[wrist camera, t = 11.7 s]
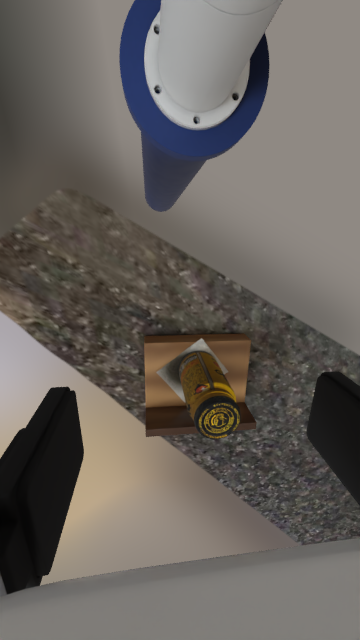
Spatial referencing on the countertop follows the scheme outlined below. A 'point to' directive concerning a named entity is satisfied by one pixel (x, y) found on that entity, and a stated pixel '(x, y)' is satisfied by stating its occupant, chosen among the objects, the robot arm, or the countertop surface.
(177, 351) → the shelf
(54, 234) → the countertop surface
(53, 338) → the countertop surface
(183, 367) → the condiment
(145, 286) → the countertop surface
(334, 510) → the countertop surface
